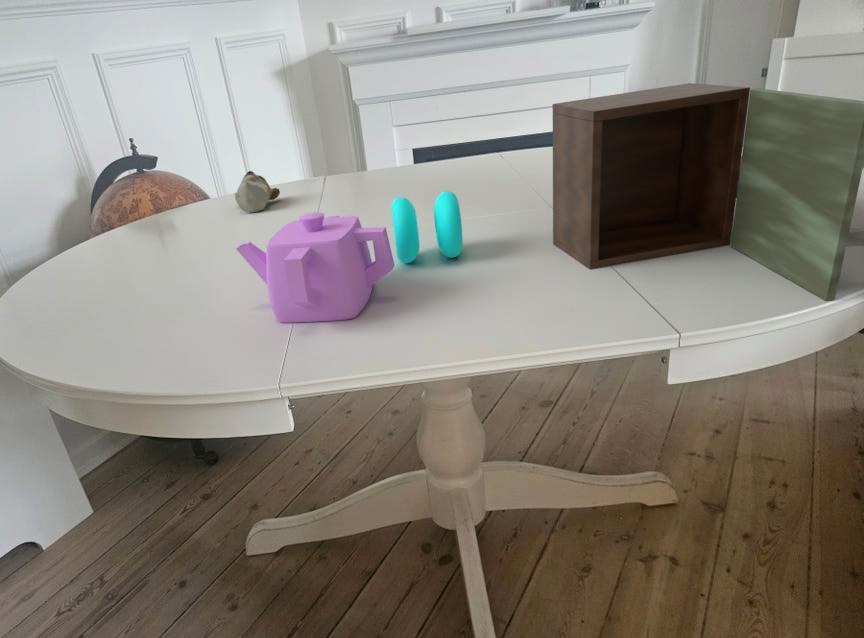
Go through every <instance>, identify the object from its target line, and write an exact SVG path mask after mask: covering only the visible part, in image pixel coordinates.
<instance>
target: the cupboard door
mask: <svg viewBox="0 0 864 638" xmlns="http://www.w3.org/2000/svg"><path fill="white" fill-rule="evenodd" d="M863 170H864V100H858V99H849V98H843V97H834V96H826V95H817V94H809V93H808V94H807V93H800V92H792V91H791V92H790V91H785V90H783V91H782V90H775V89H767V88H766V89H765V88H750V93H749V101H748V109H747V117H746V124H745V132H744V140H743V148H742V160H741V168H740V176H739V184H738V192H737V198H736V203H735V211H734V219H733V227H732V234H731V242H730V248H732V249H734V250H736V251H737V252H739V253H741V254H743V255H744V256H746V257H748V258H750V259H752V260H753V261H755V262H757V263H758V264H760V265H762V266H764V267H766V268H767V269H769V270H771V271H773V272H774V273H776V274H778V275H779V276H781V277H783V278H785V279H787V280H788V281H789V282H792V283H793V284H795V285H796V286H798V287H800V288H803V289H804V290H806V291H808V292H809V293H812V294H813V295H815V296H816V297H818V298H820V299H822V300H824V301H825V302H827V301H828V302H829V301H836V296H837V292H838V291H837V290H838V286H839V282H840V277H841V272H842V268H843V263H844V258H845V253H846V249H847V248H852V247H859V246H864V225H863V226H854V227H853V226H852V220H853V215H854V211H855V206H856V202H857V197H858V193H859V188H860V183H861V178H862V174H863ZM851 226H852V227H851Z"/></svg>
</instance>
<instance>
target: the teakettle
mask: <svg viewBox="0 0 864 638" xmlns="http://www.w3.org/2000/svg"><path fill="white" fill-rule="evenodd" d="M369 241H370V242H372V245H373V251H374V252H373V253H374V260H375V261H372V256H371V252H370V247H369V243H368V242H369ZM265 250H266V251H263V250H262V249H261V248H259V247H258V246H256V245H255V244H254V243H253V242H252V241H247V242H245V243H242V244H239V245H238V246H237V247H236V251H237V252H238V253H239V255H241V256H242V258H243V259H244V260H245V261H246V262H247V264H249V266H250V267H251V268H252V269H253V270H254V272H255V273H256V274H257V275H258V276H259V278H261V280H262V281H263V282H264V283H265V284H266V285H267V291H268V299H269V305H270V309H271V311H272V313H273V316H274V317H275V319H276V320H277V321H278V323H281V324H283V323H284V324H285V323H287V324H289V323H292V324H293V323H317V322H335V321H346V320H353V319H354V318H356V317H357V316H359V315H360V313H361V312H362V311H363V310H364V308H365V307H366V305H367V304H368V302H369V300H370V298H371V294H372V291H373V285H374V283H375V282H377V281H378V280H380V279H381V278H383V277H384V276H386V275H388V274H389V273H390V272H392V271H393V269H394V267H395V261H394V257H393V252H392V249H391V243H390V239H389V236H388V230H387V226H382V227H381V226H380V227H379V226H378V227H375V226H374V227H363V226H362V224H361V222H360V219H359V217H358V216H357V215H344V216H339V215H332V216H327V217H325V214H324V213H323V212H319V211H318V212H317V211H314V212H308V213H303V214H302V215H300V216H299V218H298V219H297V220H293V221H290V222H289V223H287V224H286V225H284V226H283V227H282V228H280V229H279V230H278V231H277V232H276V233H274V234H273V236H271V238H270V239H269V240H268V242H267V244H266V249H265Z"/></svg>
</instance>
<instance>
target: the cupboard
mask: <svg viewBox="0 0 864 638" xmlns="http://www.w3.org/2000/svg"><path fill="white" fill-rule="evenodd" d="M750 90H751V87H750V86H737V85H736V86H735V85H723V84H722V85H720V84H705V83H692V82H689V83H688V82H687V83H682V84H675V85H668V86H662V87H656V88H650V89H643V90H636V91H629V92H628V91H627V92H622V93H616V94H610V95H603V96H597V97H590V98H584V99H577V100H570V101H564V102H557V103H556V102H555V103H552V245H553V246H555V247H556V248H557V249H559V250H560V251H562V252H563V253H565V254H567V255H568V256H569V257H571V258H572V259H573V260H575V261H577V262H578V263H579V264H581V265H583V267H585V268H587V270H591V271H592V270H595V269H603V268H607V267H613V266H619V265H624V264H630V263H636V262H640V261H641V262H642V261H646V260H647V261H648V260H654V259H657V258H659V259H660V258H665V257H670V256H671V257H672V256H675V255H677V256H678V255H682V254H689V253H693V252H698V251H699V252H700V251H705V250H710V249H716V248H722V247H728V246H731V239H732V231H733V223H734V215H735V207H736V199H737V198H736V195H737V187H738V179H739V172H740V164H741V156H742V152H743V145H744V137H745V129H746V121H747V113H748V105H749V98H750Z"/></svg>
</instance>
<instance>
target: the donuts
mask: <svg viewBox="0 0 864 638" xmlns="http://www.w3.org/2000/svg"><path fill="white" fill-rule="evenodd" d="M391 216H392V225H393V226H392V227H393V235H394V240H395V241H394V243H395V249H396V250H395V251H396V256H397V259H398V260H399V262H400V263H403V264H411V263H412V262H414V261H415V259H416V258H417V257H418V255H419V252H420V235H419V226H418V219H417V211H416V209H415V206H414V204H413V203H412V201H410V199H408V198H407V197H404V196H399V197H397V198H395V199H394V200H393V201H392V203H391ZM433 219H434V229H435V237H436V243H437V246H438V248H439V251H440V252H441V254H443V255H444V256H445V257H446V258H449V259H453V258H456V257H458V256H460V255H461V254H462V250H463V240H464V239H463V225H462V216H461V209H460V203H459V199H458V197H457V195H456V194H455V193H454V192H453V191H450V190H447V191H443V192H441V193H439V195H438V196H437V197H436V199H435V202H434V206H433Z"/></svg>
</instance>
